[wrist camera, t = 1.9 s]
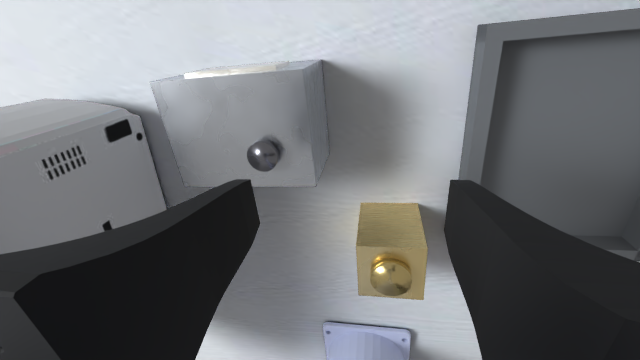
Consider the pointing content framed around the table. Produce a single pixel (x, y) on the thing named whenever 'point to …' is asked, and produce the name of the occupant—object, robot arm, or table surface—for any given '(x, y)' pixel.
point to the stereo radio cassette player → (72, 172)
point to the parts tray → (561, 123)
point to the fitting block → (391, 251)
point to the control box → (247, 123)
